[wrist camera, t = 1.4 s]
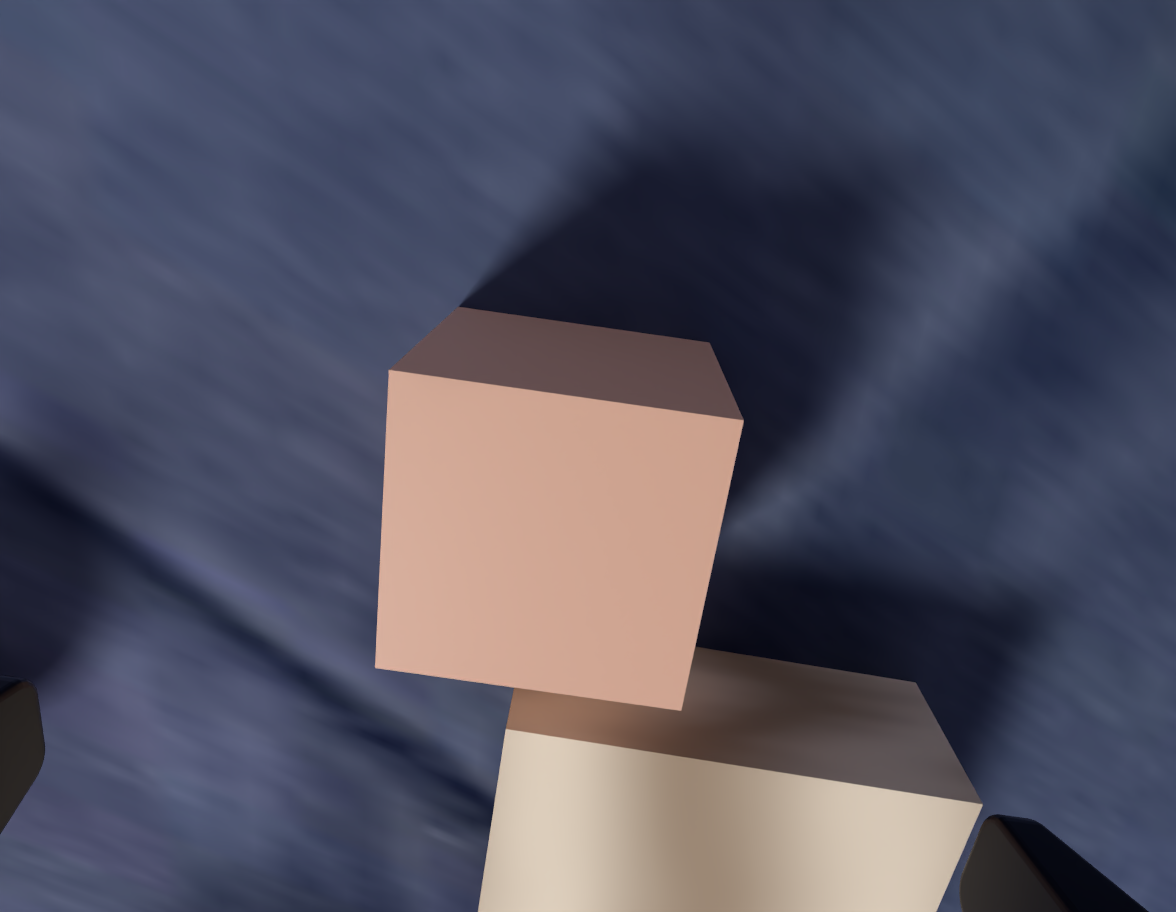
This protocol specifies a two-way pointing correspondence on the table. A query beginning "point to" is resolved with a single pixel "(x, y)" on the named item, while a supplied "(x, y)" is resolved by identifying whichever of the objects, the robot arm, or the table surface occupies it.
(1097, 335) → the table surface
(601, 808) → the beech block
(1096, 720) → the table surface
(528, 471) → the terracotta cube
